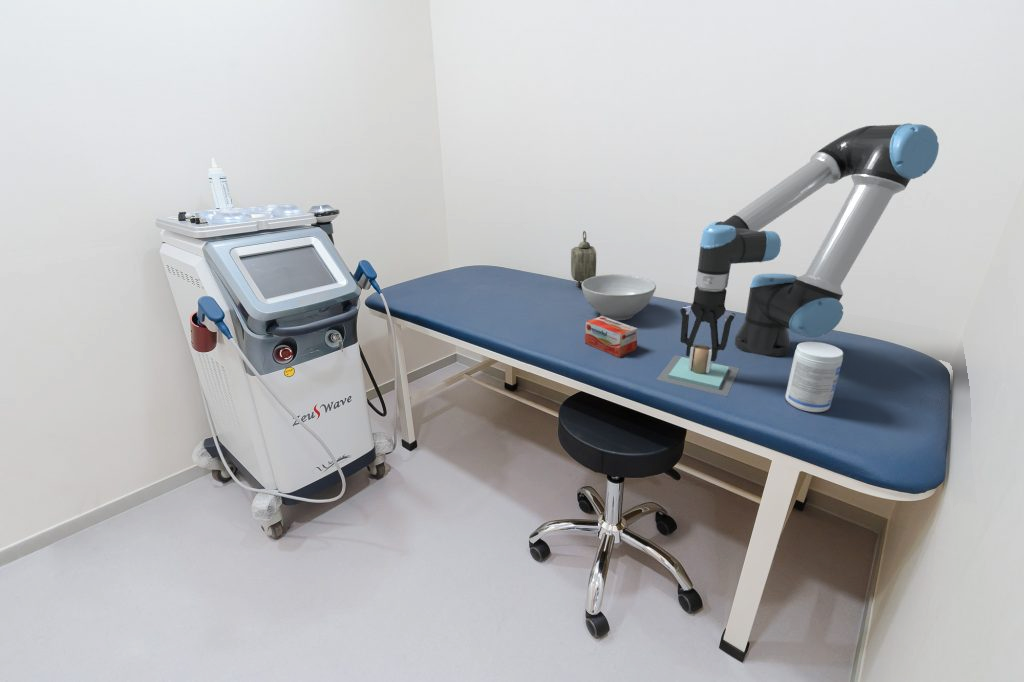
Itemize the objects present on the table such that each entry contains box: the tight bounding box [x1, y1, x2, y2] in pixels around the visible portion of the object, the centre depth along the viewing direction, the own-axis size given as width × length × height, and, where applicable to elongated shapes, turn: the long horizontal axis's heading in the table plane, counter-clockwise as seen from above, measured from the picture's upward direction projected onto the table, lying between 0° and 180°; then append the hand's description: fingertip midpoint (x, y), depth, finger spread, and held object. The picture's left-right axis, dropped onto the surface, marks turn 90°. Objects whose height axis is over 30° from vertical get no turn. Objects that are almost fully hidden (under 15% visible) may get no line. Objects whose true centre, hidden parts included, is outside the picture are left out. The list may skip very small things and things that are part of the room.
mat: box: [656, 354, 740, 397], centre depth 128 cm, size 18×18×1 cm
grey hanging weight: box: [570, 230, 597, 288], centre depth 204 cm, size 14×9×25 cm, turn 1°
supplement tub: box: [785, 341, 844, 413], centre depth 111 cm, size 10×10×15 cm
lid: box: [668, 344, 729, 390], centre depth 127 cm, size 13×13×8 cm
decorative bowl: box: [581, 274, 657, 321], centre depth 172 cm, size 27×27×12 cm
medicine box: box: [584, 316, 638, 359], centre depth 147 cm, size 15×8×8 cm, turn 38°
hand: (699, 368), depth 128 cm, fingers closed on lid, 4 cm apart
